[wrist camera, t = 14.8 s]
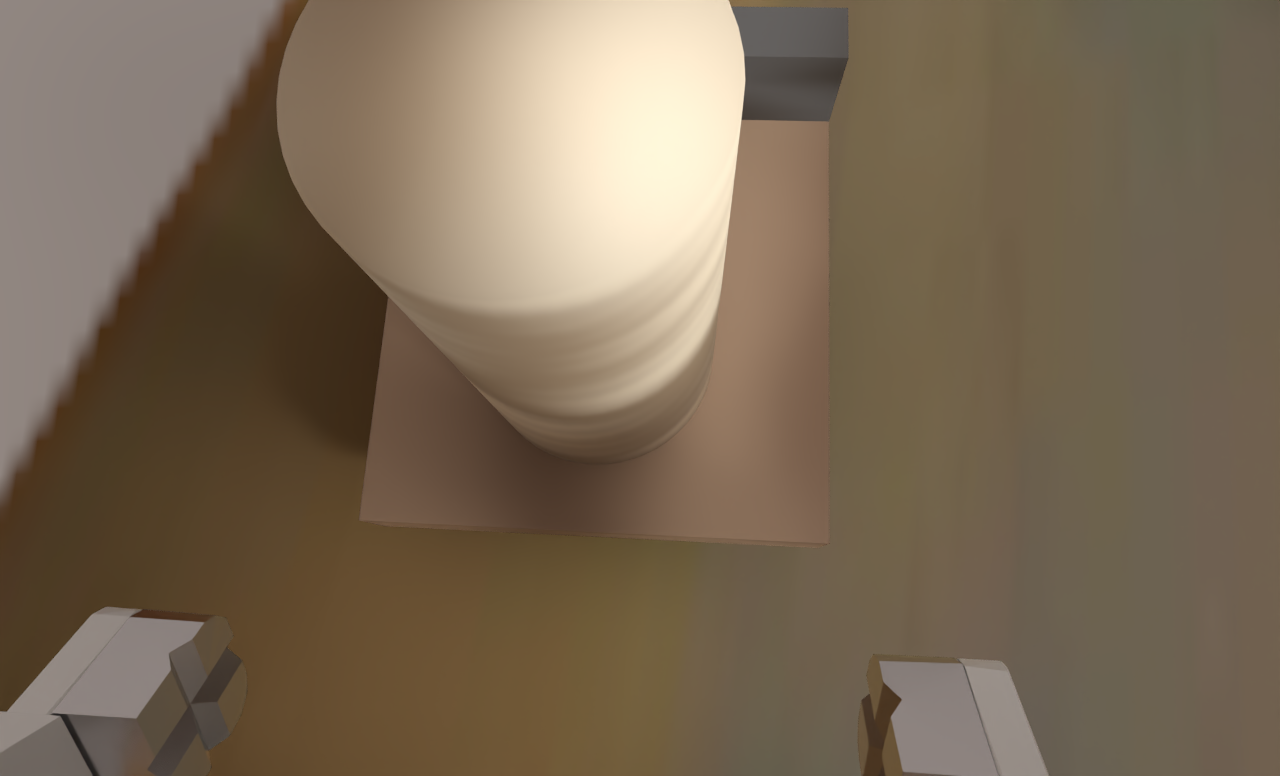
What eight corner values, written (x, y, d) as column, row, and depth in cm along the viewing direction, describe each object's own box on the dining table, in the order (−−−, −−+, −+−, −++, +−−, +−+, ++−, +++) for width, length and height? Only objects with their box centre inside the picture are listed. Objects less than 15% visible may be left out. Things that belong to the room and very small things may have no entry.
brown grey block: (805, 161, 24) (847, 8, 18) (802, 553, 21) (852, 535, 15) (460, 153, 24) (384, 3, 18) (416, 533, 22) (310, 508, 16)
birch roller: (715, 251, 19) (749, -117, 9) (709, 469, 18) (740, 306, 8) (499, 246, 19) (313, -115, 10) (478, 459, 18) (240, 293, 8)
